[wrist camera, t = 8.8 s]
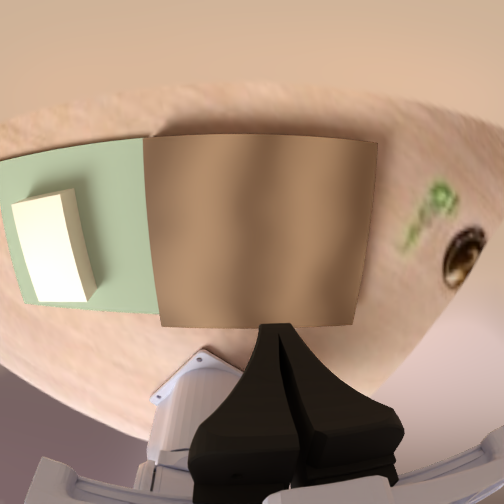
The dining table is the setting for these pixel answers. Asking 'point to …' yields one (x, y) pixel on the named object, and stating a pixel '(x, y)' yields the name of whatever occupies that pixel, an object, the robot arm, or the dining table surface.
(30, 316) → the dining table surface
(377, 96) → the dining table surface
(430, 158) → the dining table surface
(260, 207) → the board
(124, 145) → the mat
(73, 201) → the tile
